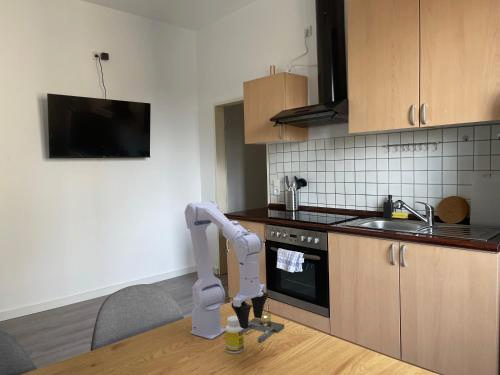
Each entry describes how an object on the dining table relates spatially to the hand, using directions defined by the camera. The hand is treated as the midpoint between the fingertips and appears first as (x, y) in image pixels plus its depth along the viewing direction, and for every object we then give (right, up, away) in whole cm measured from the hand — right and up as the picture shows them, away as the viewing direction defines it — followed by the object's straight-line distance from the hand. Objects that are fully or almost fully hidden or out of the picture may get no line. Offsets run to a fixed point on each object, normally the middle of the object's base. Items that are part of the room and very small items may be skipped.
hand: (251, 322), depth 106 cm
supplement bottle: (-5, -10, +5) cm, 12 cm away
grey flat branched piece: (+3, -9, +17) cm, 19 cm away
